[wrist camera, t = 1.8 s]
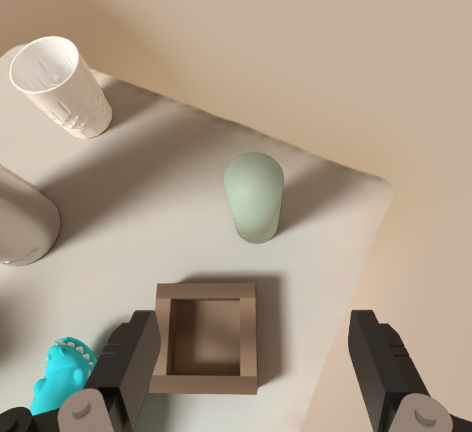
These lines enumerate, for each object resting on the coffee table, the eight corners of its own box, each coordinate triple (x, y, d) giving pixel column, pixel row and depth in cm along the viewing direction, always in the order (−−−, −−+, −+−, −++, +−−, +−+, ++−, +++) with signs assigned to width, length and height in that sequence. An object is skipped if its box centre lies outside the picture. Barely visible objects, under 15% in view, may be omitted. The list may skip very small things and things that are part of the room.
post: (279, 243, 38) (285, 206, 26) (235, 244, 38) (223, 208, 27) (277, 202, 39) (282, 151, 28) (235, 203, 40) (224, 153, 28)
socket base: (257, 388, 33) (256, 394, 30) (160, 386, 34) (148, 392, 30) (255, 286, 36) (254, 282, 33) (166, 287, 37) (157, 283, 34)
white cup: (64, 98, 47) (14, 40, 38) (118, 91, 47) (81, 31, 37) (59, 146, 44) (4, 97, 35) (116, 139, 44) (75, 88, 35)
